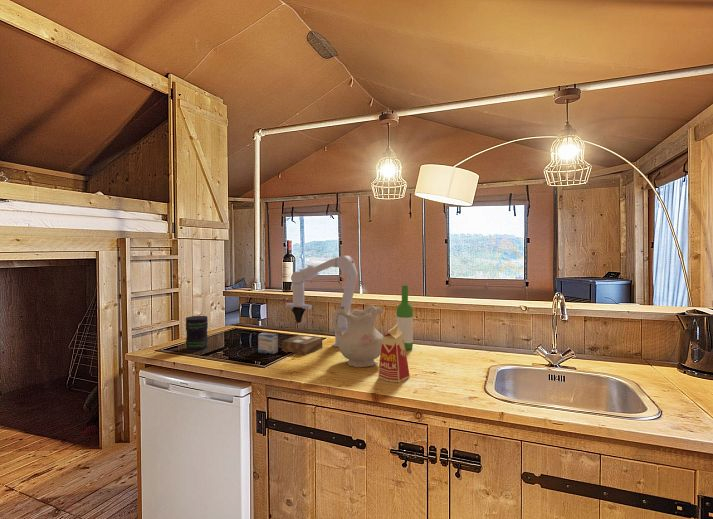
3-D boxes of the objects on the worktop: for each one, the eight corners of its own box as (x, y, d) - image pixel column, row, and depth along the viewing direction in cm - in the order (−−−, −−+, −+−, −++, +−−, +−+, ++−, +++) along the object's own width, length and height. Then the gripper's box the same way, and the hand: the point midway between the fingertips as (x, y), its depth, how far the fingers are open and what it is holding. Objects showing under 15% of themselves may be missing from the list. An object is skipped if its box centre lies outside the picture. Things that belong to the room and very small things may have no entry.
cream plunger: (312, 347, 194) (312, 337, 194) (308, 349, 191) (308, 339, 191) (306, 346, 196) (305, 336, 196) (301, 348, 193) (301, 338, 193)
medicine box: (258, 352, 185) (257, 334, 185) (263, 350, 189) (262, 332, 189) (273, 354, 183) (273, 335, 182) (278, 351, 187) (278, 333, 187)
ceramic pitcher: (347, 376, 155) (351, 313, 152) (323, 360, 171) (325, 302, 169) (392, 367, 167) (395, 308, 164) (365, 353, 183) (368, 299, 181)
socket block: (322, 348, 194) (322, 337, 193) (305, 355, 181) (305, 344, 181) (300, 344, 200) (300, 334, 199) (282, 351, 187) (282, 340, 187)
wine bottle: (395, 346, 197) (396, 284, 196) (411, 346, 197) (412, 285, 195) (396, 350, 189) (397, 286, 188) (413, 350, 189) (413, 286, 188)
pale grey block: (304, 351, 188) (304, 340, 188) (299, 353, 185) (298, 342, 184) (297, 350, 190) (297, 339, 190) (291, 352, 186) (291, 341, 186)
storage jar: (185, 347, 195) (185, 316, 194) (207, 345, 199) (206, 315, 198) (186, 352, 186) (185, 320, 185) (209, 350, 190) (208, 318, 189)
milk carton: (390, 372, 157) (390, 321, 156) (410, 377, 151) (411, 324, 150) (376, 378, 150) (376, 325, 149) (397, 384, 144) (397, 328, 143)
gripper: (282, 295, 203) (282, 322, 203) (305, 297, 196) (305, 325, 196) (290, 293, 209) (290, 320, 209) (314, 295, 202) (314, 322, 203)
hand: (298, 322), depth 203 cm, fingers closed
